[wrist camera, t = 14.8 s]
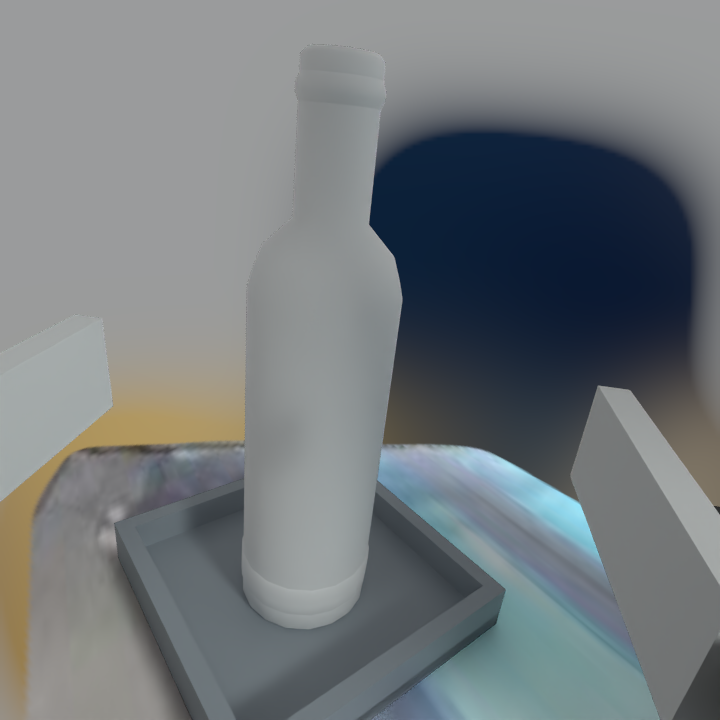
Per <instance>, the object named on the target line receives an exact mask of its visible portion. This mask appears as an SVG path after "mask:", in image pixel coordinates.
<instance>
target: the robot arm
mask: <svg viewBox="0 0 720 720" xmlns="http://www.w3.org/2000/svg"><path fill="white" fill-rule="evenodd" d="M111 407H113V401H112V393H111V385H110V377H109V369H108V361H107V353H106V346H105V338H104V330H103V322H102V318H99V317H91V316H84V315H77V314H76V315H74V316H72V317H70V318H68V319H66V320H64V321H62V322H60V323H58V324H56V325H54V326H52V327H50V328H48V329H46V330H44V331H42V332H40V333H38V334H36V335H34V336H32V337H30V338H28V339H26V340H24V341H22V342H21V343H19V344H17V345H15V346H13V347H11V348H9V349H7V350H5V351H3V352H1V353H0V502H1V501H2V500H3V499H4V498H5V497H6V496H8V495H9V494H10V493H11V492H12V491H14V490H15V489H16V488H17V487H18V486H19V485H21V484H22V483H23V482H24V481H25V480H26V479H28V478H29V477H30V476H31V475H32V474H34V473H35V472H36V471H37V470H38V469H39V468H41V467H42V466H43V465H44V464H45V463H46V462H48V461H49V460H50V459H51V458H52V457H53V456H55V455H56V454H57V453H58V452H60V451H61V450H62V449H63V448H64V447H65V446H67V445H68V444H69V443H70V442H71V441H72V440H74V439H75V438H76V437H77V436H78V435H80V434H81V433H82V432H83V431H84V430H86V429H87V428H88V427H89V426H90V425H91V424H93V423H94V422H95V421H96V420H97V419H98V418H100V417H101V416H102V415H103V414H104V413H105V412H107V411H108V410H109V409H110V408H111ZM570 477H571V479H572V482H573V485H574V488H575V490H576V493H577V495H578V498H579V501H580V504H581V507H582V509H583V512H584V515H585V517H586V520H587V523H588V525H589V528H590V531H591V534H592V536H593V539H594V542H595V544H596V547H597V550H598V552H599V555H600V558H601V560H602V563H603V566H604V569H605V571H606V574H607V577H608V579H609V582H610V585H611V587H612V590H613V593H614V596H615V598H616V601H617V604H618V606H619V609H620V612H621V614H622V617H623V620H624V623H625V625H626V628H627V631H628V633H629V636H630V639H631V641H632V644H633V647H634V649H635V652H636V655H637V658H638V660H639V663H640V666H641V668H642V671H643V674H644V676H645V679H646V682H647V685H648V687H649V690H650V693H651V695H652V698H653V701H654V703H655V706H656V709H657V712H658V714H659V717H660V720H720V507H717V506H713V505H712V503H711V502H710V500H709V499H708V498H707V496H706V495H705V494H704V492H703V491H702V490H701V488H700V487H699V485H698V484H697V483H696V481H695V480H694V478H693V477H692V476H691V474H690V473H689V471H688V470H687V469H686V467H685V466H684V464H683V463H682V462H681V461H680V459H679V457H678V456H677V455H676V453H675V452H674V451H673V449H672V448H671V446H670V445H669V444H668V442H667V441H666V439H665V438H664V437H663V435H662V434H661V433H660V431H659V430H658V428H657V427H656V426H655V424H654V423H653V421H652V420H651V419H650V417H649V416H648V414H647V413H646V412H645V410H644V409H643V407H641V405H640V403H639V402H638V401H637V399H636V398H635V396H634V395H633V394H632V392H631V391H630V390H625V389H618V388H610V387H603V386H598V388H597V391H596V394H595V397H594V401H593V404H592V407H591V410H590V414H589V417H588V420H587V423H586V427H585V430H584V433H583V436H582V439H581V443H580V446H579V449H578V452H577V455H576V459H575V462H574V465H573V468H572V472H571V475H570Z"/></svg>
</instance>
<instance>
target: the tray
mask: <svg viewBox="0 0 720 720" xmlns="http://www.w3.org/2000/svg"><path fill="white" fill-rule="evenodd" d="M114 525H115V533H116V542H117V550H118V558H119V560H120V562H121V564H122V567H123V569H124V571H125V573H126V575H127V578H128V580H129V582H130V584H131V586H132V589H133V591H134V593H135V595H136V597H137V599H138V602H139V604H140V606H141V608H142V610H143V613H144V615H145V617H146V619H147V621H148V624H149V626H150V628H151V630H152V632H153V635H154V637H155V639H156V641H157V643H158V645H159V648H160V650H161V652H162V654H163V656H164V659H165V661H166V663H167V665H168V667H169V670H170V672H171V674H172V676H173V678H174V681H175V683H176V685H177V687H178V689H179V691H180V694H181V696H182V698H183V700H184V702H185V705H186V707H187V709H188V711H189V713H190V716H191V718H192V720H370V719H372V718H373V717H374V716H376V715H377V714H378V713H380V712H381V711H382V710H383V709H385V708H386V707H387V706H389V705H390V704H391V703H393V702H394V701H395V700H397V699H398V698H399V697H400V696H402V695H403V694H404V693H406V692H407V691H408V690H410V689H411V688H412V687H414V686H415V685H416V684H417V683H419V682H420V681H421V680H423V679H424V678H425V677H427V676H428V675H429V674H431V673H432V672H433V671H434V670H436V669H437V668H438V667H440V666H441V665H442V664H444V663H445V662H446V661H448V660H449V659H450V658H452V657H453V656H454V655H455V654H457V653H458V652H459V651H461V650H462V649H463V648H465V647H466V646H467V645H469V644H470V643H471V642H472V641H474V640H475V639H476V638H478V637H479V636H480V635H482V634H483V633H484V632H486V631H487V630H488V629H489V628H491V627H492V626H493V625H495V624H496V622H497V618H498V615H499V611H500V608H501V605H502V601H503V598H504V594H505V591H506V589H505V588H503V587H502V586H501V585H500V584H499V583H497V582H496V581H495V580H494V579H493V578H492V577H490V576H489V575H488V574H487V573H486V572H485V571H483V570H482V569H481V568H480V567H479V566H477V565H476V564H475V563H474V562H473V561H472V560H470V559H469V558H468V557H467V556H466V555H464V554H463V553H462V552H461V551H460V550H459V549H457V548H456V547H455V546H454V545H453V544H452V543H450V542H449V541H448V540H447V539H446V538H444V537H443V536H442V535H441V534H440V533H439V532H437V531H436V530H435V529H434V528H433V527H431V526H430V525H429V524H428V523H427V522H426V521H424V520H423V519H422V518H421V517H420V516H419V515H417V514H416V513H415V512H414V511H413V510H411V509H410V508H409V507H408V506H407V505H406V504H404V503H403V502H402V501H401V500H400V499H398V498H397V497H396V496H395V495H394V494H393V493H391V492H390V491H389V490H388V489H387V488H385V487H384V486H383V485H382V484H381V483H380V482H378V481H377V484H376V491H375V498H374V506H373V513H372V520H371V527H370V534H369V541H368V545H369V553H368V560H367V565H366V570H365V575H364V580H363V583H362V588H361V593H360V598H359V599H358V600H357V602H356V603H355V604H354V606H353V607H352V609H351V610H350V611H349V613H347V614H346V615H344V616H343V617H341V618H340V619H338V620H336V621H335V622H333V623H332V624H329V625H325V626H321V627H317V628H313V629H294V628H285V627H282V626H280V625H277V624H275V623H272V622H270V621H267V620H265V619H264V618H263V617H262V616H261V615H260V614H258V613H257V612H256V611H255V610H254V609H253V608H252V607H251V606H250V604H249V602H248V600H247V598H246V595H245V593H244V591H243V576H242V569H241V562H242V538H243V536H244V479H241V480H238V481H235V482H232V483H229V484H226V485H223V486H221V487H218V488H215V489H212V490H209V491H206V492H203V493H200V494H197V495H194V496H192V497H189V498H186V499H183V500H180V501H177V502H174V503H171V504H168V505H165V506H163V507H160V508H157V509H154V510H151V511H148V512H145V513H142V514H139V515H136V516H134V517H131V518H128V519H125V520H122V521H119V522H116V523H114Z"/></svg>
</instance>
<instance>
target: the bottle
mask: <svg viewBox="0 0 720 720" xmlns="http://www.w3.org/2000/svg"><path fill="white" fill-rule="evenodd" d="M385 66H386V62H385V61H384V60H383V58H382V57H381V56H380V54H379V53H376V52H373V51H369V50H364V49H359V48H353V47H346V46H338V45H324V44H317V45H316V44H313V45H308V46H307V47H305V48H304V49H303V50H302V51H301V52H300V66H299V73H298V76H297V78H296V81H295V93H296V96H297V99H298V110H297V131H296V152H295V173H294V194H293V216H292V218H290V219H289V221H287V222H286V223H285V224H284V225H283V226H282V227H281V228H279V229H278V230H277V231H276V232H275V233H274V234H273V235H271V236H270V237H269V238H268V239H267V240H266V241H265V242H264V243H263V244H262V245H261V247H260V250H259V252H258V255H257V257H256V260H255V262H254V265H253V268H252V271H251V274H250V277H249V280H248V283H247V307H246V308H247V309H246V310H247V311H246V313H247V314H246V388H245V389H246V390H245V467H244V536H243V538H242V562H241V569H242V576H243V591H244V593H245V595H246V598H247V600H248V602H249V604H250V606H251V607H252V608H253V609H254V610H255V611H256V612H257V613H258V614H260V615H261V616H262V617H263V618H264V619H265V620H267V621H270V622H272V623H275V624H277V625H280V626H282V627H285V628H294V629H313V628H317V627H321V626H325V625H329V624H332V623H333V622H335V621H336V620H338V619H340V618H341V617H343V616H344V615H346V614H347V613H349V611H350V610H351V609H352V607H353V606H354V604H355V603H356V602H357V600H358V599H359V598H360V593H361V588H362V583H363V580H364V575H365V570H366V565H367V560H368V553H369V545H368V541H369V534H370V527H371V520H372V513H373V506H374V498H375V491H376V484H377V477H378V470H379V463H380V456H381V448H382V441H383V434H384V427H385V419H386V413H387V405H388V398H389V391H390V384H391V377H392V370H393V363H394V356H395V348H396V341H397V334H398V327H399V320H400V313H401V306H402V294H401V287H400V281H399V276H398V272H397V267H396V263H395V259H394V256H393V255H392V254H391V253H390V251H389V250H388V249H387V247H386V246H385V245H384V244H383V242H382V241H381V240H380V238H379V237H378V236H377V235H376V233H375V232H374V231H373V229H372V228H371V227H370V226H369V217H370V208H371V197H372V188H373V179H374V170H375V160H376V150H377V141H378V132H379V123H380V113H381V112H380V111H381V109H382V107H383V105H384V103H385V100H386V88H385V84H384V75H385Z"/></svg>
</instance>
